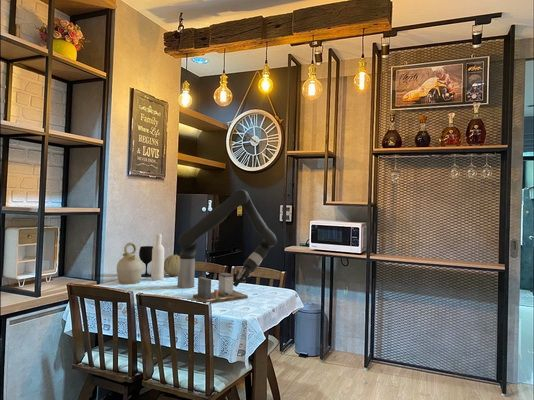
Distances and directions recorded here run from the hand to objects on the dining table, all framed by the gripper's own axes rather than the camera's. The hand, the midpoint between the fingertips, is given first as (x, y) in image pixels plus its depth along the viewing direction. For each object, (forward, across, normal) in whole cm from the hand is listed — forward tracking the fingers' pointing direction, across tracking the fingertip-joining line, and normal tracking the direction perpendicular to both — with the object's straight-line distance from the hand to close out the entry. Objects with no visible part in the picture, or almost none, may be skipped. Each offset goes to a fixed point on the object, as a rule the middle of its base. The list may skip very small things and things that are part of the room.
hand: (234, 285), depth 222 cm
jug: (+31, -64, -22) cm, 74 cm away
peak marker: (+13, +5, -7) cm, 16 cm away
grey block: (+7, +1, -1) cm, 7 cm away
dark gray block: (+16, 0, -10) cm, 19 cm away
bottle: (+18, -65, -9) cm, 68 cm away
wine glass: (+19, -81, -10) cm, 84 cm away
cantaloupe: (+7, -72, +1) cm, 72 cm away
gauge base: (+10, 0, -2) cm, 11 cm away
